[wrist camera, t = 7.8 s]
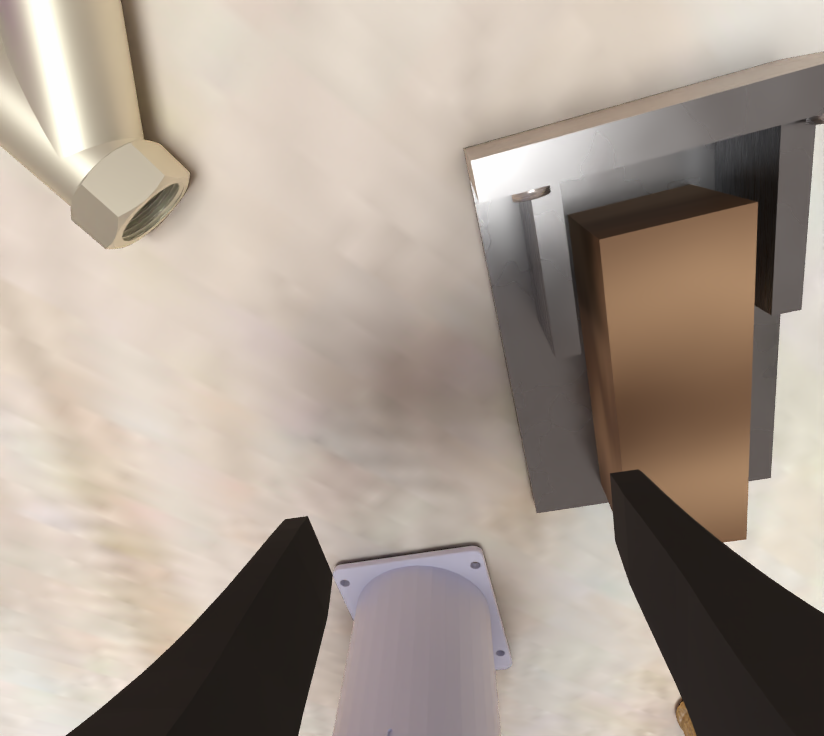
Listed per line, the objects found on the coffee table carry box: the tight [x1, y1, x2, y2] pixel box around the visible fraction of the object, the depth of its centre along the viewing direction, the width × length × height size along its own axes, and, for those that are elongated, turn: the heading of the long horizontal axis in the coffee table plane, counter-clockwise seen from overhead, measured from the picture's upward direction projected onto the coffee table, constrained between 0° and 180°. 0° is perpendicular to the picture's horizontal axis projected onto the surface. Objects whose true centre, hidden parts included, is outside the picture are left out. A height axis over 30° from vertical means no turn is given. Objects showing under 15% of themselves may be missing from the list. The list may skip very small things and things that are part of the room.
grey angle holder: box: [463, 52, 824, 513], centre depth 17 cm, size 16×10×6 cm, turn 15°
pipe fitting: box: [0, 0, 190, 249], centre depth 16 cm, size 8×4×7 cm
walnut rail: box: [568, 184, 758, 542], centre depth 17 cm, size 12×4×4 cm, turn 15°
